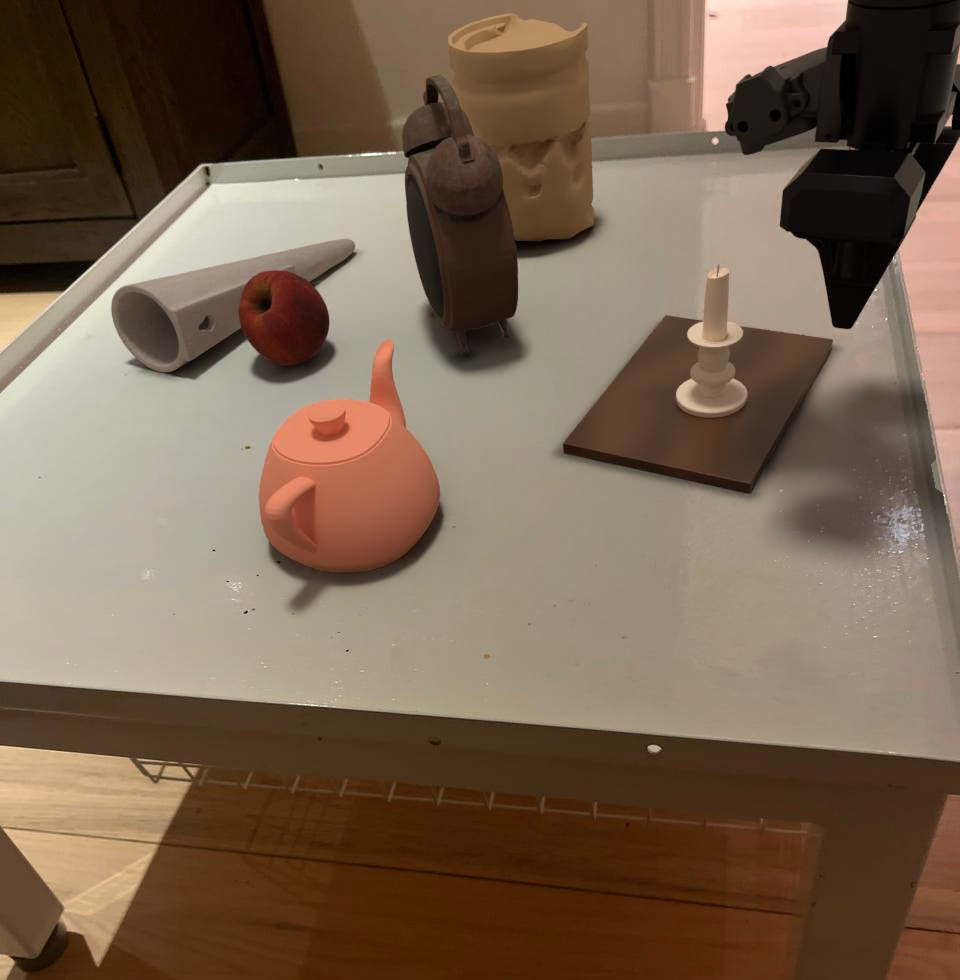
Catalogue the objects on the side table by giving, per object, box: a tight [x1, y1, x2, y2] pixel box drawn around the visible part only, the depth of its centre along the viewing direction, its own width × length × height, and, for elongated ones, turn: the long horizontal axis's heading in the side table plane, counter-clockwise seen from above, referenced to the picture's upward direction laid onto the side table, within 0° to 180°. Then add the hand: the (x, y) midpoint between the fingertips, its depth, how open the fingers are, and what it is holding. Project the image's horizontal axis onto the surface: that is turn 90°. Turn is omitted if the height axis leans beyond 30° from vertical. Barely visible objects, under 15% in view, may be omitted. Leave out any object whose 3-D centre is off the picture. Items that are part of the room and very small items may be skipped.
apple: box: [239, 270, 330, 366], centre depth 83 cm, size 7×8×8 cm
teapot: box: [258, 339, 441, 573], centre depth 65 cm, size 12×18×10 cm
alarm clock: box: [401, 74, 519, 357], centre depth 78 cm, size 15×7×20 cm, turn 15°
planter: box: [110, 238, 356, 373], centre depth 93 cm, size 8×9×26 cm
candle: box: [676, 263, 747, 418], centre depth 68 cm, size 5×5×10 cm
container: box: [447, 12, 595, 242], centre depth 92 cm, size 13×13×18 cm
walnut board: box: [562, 314, 834, 494], centre depth 73 cm, size 14×20×1 cm
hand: (862, 292), depth 59 cm, fingers open, 9 cm apart
